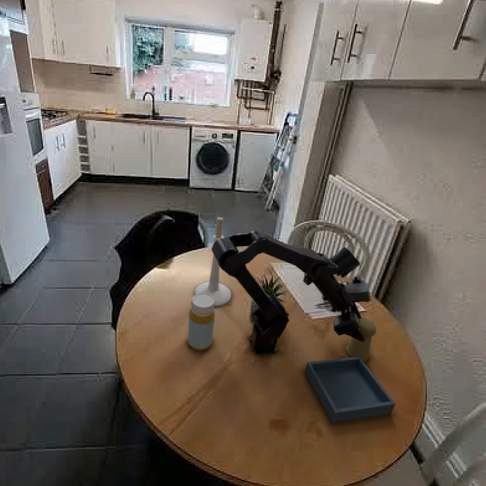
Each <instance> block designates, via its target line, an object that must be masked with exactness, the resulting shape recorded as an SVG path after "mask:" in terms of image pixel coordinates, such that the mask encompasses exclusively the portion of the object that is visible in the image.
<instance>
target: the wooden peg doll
mask: <svg viewBox="0 0 486 486" xmlns="http://www.w3.org/2000/svg"><path fill="white" fill-rule="evenodd" d="M359 320H360V327H359V329H360V331H361V332H362V334H363V336H364V338H365V341H363V342H361V341H359V340H357V339H355V338H353V337H350V340H349V341H348V344H347V346H346V348H345V349H346V350H345V351H346V352H347V354H348V356H350V358H351V357H360V358H361V359H362V360H363V362H366V361H368V359H369V358H370V349H371V344H372V340H373V339H372V338H373V337H374V336H375V335H376V333H377V326H376V324H375V323H374V322H373V321H371V320H370V319H367V318H361V319H359Z"/></svg>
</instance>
